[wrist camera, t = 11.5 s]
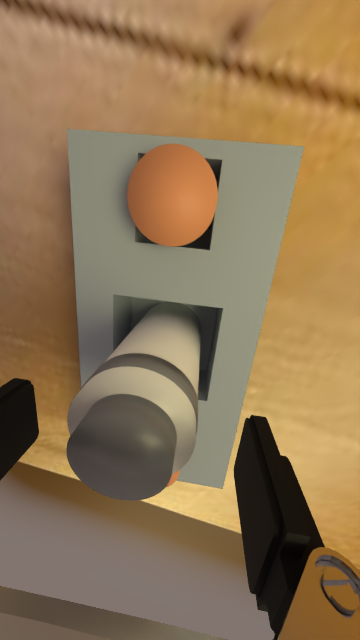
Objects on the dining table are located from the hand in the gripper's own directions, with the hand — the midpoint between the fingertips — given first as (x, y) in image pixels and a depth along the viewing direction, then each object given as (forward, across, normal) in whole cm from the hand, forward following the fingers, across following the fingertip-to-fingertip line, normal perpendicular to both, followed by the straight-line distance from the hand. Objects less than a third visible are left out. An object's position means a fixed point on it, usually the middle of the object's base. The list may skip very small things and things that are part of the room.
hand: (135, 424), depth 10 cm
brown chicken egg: (+9, 0, -10) cm, 13 cm away
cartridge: (+10, 0, -1) cm, 10 cm away
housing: (+11, 0, -1) cm, 11 cm away
